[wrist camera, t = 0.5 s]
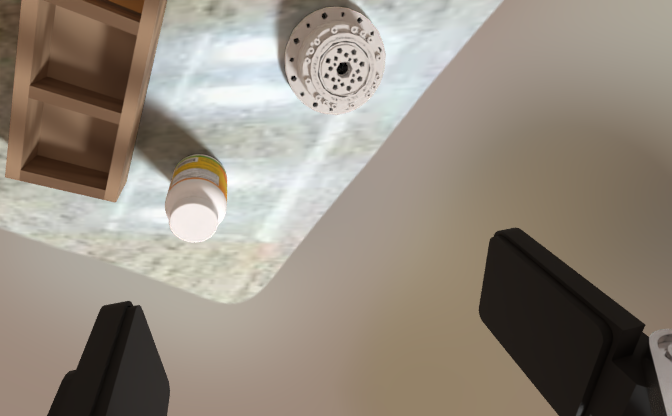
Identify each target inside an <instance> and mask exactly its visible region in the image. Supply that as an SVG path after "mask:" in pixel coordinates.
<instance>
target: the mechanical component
mask: <svg viewBox="0 0 672 416" xmlns="http://www.w3.org/2000/svg"><path fill="white" fill-rule="evenodd" d="M341 12H342V16H341ZM323 13H325V18H322V14H323ZM358 18H359V19H360V20H359V21H357V19H358ZM306 24H308V25H309V26H307V25H306ZM370 32H371V34H370ZM296 38H298V41H297V43H294V39H296ZM352 42H353V43H352ZM338 48H339V50H338V51H337V49H338ZM344 54H345V55H344ZM385 56H386V54H385V49H384V44H383V41H382V39H381V37H380V34H379V32H378V30H377V29H376V27H375V26H374V25H373V24H372V22H371V21H370V20H369V19H367V18H366V17H365V16H364V15H362V14H361V13H359V12H356V11H354V10H352V9H349V8H343V7H325V8H322V9H319V10H316V11H314V12H312V13H311V14H309V15H308V16H306V17H305V18H304V19H303V20H302V21H301V22H300V23H299V24H298V25H297V26H296V27H295V28H294V29H293V31H292V34H291V36H290V38H289V41H288V43H287V46H286V50H285V56H284V58H285V72H286V75H287V78H288V81H289V84H290V87H291V89H292V90H293V92H294V93H295V95H296V96H297V97H298V99H299V100H301V101H302V102H303V103H304V104H305V105H306V106H308V107H309V108H311V109H313V110H314V111H317V112H320V113H323V114H333V115H338V114H343V113H348V112H350V111H353V110H355V109H357V108H359V107H360V106H362V105H363V104H364V103H366V102H367V101H368V100H369V99H370V98H371V97H372V95H373V94H374V93H375V91H376V89H377V88H378V86H379V85H380V82H381V79H382V76H383V73H384V69H385ZM291 57H292V58H293V59H291V60H290V58H291ZM327 58H328V59H327ZM326 59H327V61H326ZM344 62H345V63H346V64H347V65H348V68H347V67H346V66H345V64H344ZM347 62H348V63H347ZM339 63H342V64H343V67H342V69H339V68H338V69H337V67H338V65H339ZM336 69H337V70H336ZM339 71H343V72H345V71H347V72H346V73H345V74H343V75H340V74H338V73H337V72H339ZM325 74H326V76H325ZM294 75H295V78H294V79H291V76H294ZM331 78H332V79H331ZM302 92H303V93H302ZM300 93H302V94H300ZM314 102H316V104H315V105H313V103H314Z"/></svg>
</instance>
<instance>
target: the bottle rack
mask: <svg viewBox="0 0 672 416" xmlns="http://www.w3.org/2000/svg"><path fill="white" fill-rule="evenodd" d="M166 4H167V0H22V1H21V11H20V22H19V33H18V44H17V54H16V65H15V76H14V87H13V98H12V108H11V119H10V130H9V141H8V151H7V162H6V173H5V177H6V178H11V179H15V180H20V181H24V182H28V183H33V184H37V185H41V186H46V187H50V188H55V189H59V190H63V191H68V192H72V193H76V194H81V195H85V196H90V197H94V198H98V199H103V200H107V201H111V202H116V201H117V199H118V197H119V195H120V193H121V191H122V189H123V188H124V186H125V184H126V181H127V177H128V173H129V168H130V164H131V159H132V155H133V150H134V146H135V141H136V137H137V133H138V128H139V124H140V119H141V115H142V110H143V106H144V101H145V97H146V93H147V88H148V84H149V79H150V75H151V70H152V66H153V61H154V57H155V53H156V48H157V44H158V39H159V35H160V30H161V26H162V21H163V17H164V13H165V8H166Z"/></svg>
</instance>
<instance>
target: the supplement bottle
mask: <svg viewBox="0 0 672 416" xmlns="http://www.w3.org/2000/svg"><path fill="white" fill-rule="evenodd" d="M226 209H227V175H226V171H225V169H224V167H223V166H222V164H221V163H220V162H219V161H217V160H216V159H214V158H213V157H210V156H208V155H203V154H195V155H190V156H187V157H185V158H184V159H182V160H181V161H180V162H179V163H178V164H177V166H176V167H175V169H174V172H173V176H172V179H171V183H170V186H169V190H168V193H167V197H166V201H165V210H166V214H167V216H168V218H169V226H170V229H171V231H172V232H173V233H174V235H175V236H177V237H178V238H180V239H181V240H184V241H187V242H201V241H204V240H206V239H208V238H210V237H211V236H212V235H213V234H214V233H215V231H216V229H217V226H218V225H219V224H220V223H221V221H222V220H223V218H224V216H225V214H226Z"/></svg>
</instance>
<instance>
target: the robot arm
mask: <svg viewBox="0 0 672 416" xmlns="http://www.w3.org/2000/svg"><path fill="white" fill-rule="evenodd" d="M479 314H480V317H481V319H482V321H483V323H484V324H485V325H486V326H487V328H488V329H489V330H490V331H491V332H492V334H493V335H494V336H495V337H496V339H497V340H498V341H499V342H500V344H501V345H502V346H503V347H504V348H505V350H506V351H507V352H508V353H509V354H510V356H511V357H512V358H513V360H514V361H515V362H516V363H517V364H518V366H519V367H520V368H521V369H522V371H523V372H524V373H525V374H526V376H527V377H528V378H529V379H530V380H531V382H532V383H533V384H534V385H535V387H536V388H537V389H538V390H539V392H540V393H541V394H542V395H543V397H544V398H545V399H546V400H547V402H548V403H549V404H550V405H551V406H552V408H553V409H554V410H555V411H556V413H557V414H558V415H559V416H672V329H661V330H658V331H655V332H653V333H652V334H651V335H650V337H648V336H647V335H646V334H644V333H643V332H642V331H643V329H644V327H645V324H644V323H642V322H641V321H640V320H639V319H637V318H636V317H635V316H633V315H632V314H631V313H629V312H628V311H627V310H625V309H624V308H623V307H622V306H620V305H619V304H618V303H616V302H615V301H614V300H612V299H611V298H610V297H609V296H607V295H606V294H605V293H603V292H602V291H601V290H599V289H598V288H597V287H595V286H594V285H593V284H592V283H590V282H589V281H588V280H586V279H585V278H584V277H582V276H581V275H580V274H578V273H577V272H576V271H575V270H573V269H572V268H571V267H569V266H568V265H567V264H565V263H564V262H563V261H561V260H560V259H559V258H558V257H556V256H555V255H553V254H552V253H551V252H550V251H548V250H547V249H546V248H545V247H543V246H542V245H541V244H539V243H538V242H537V241H535V240H534V239H533V238H531V237H530V236H529V235H528V234H526V233H525V232H524V231H522V230H521V229H519V228H511V229H506V230H501V231H497V232H496V233H495V235H494V237H492V238H491V239H490V242H489V248H488V255H487V260H486V267H485V274H484V280H483V286H482V292H481V298H480V305H479ZM169 396H170V388H169V381H168V378H167V375H166V373H165V370H164V367H163V364H162V362H161V359H160V356H159V354H158V351H157V348H156V345H155V343H154V340H153V337H152V334H151V332H150V329H149V326H148V324H147V321H146V318H145V315H144V313H143V310H142V308H141V306H140V305H137V306H133V304H132V303H131V302H130V301H125V302H120V303H115V304H110V305H104V306H103V307H102V308H101V309H100V312H99V314H98V316H97V319H96V322H95V324H94V326H93V329H92V331H91V334H90V336H89V339H88V342H87V344H86V346H85V349H84V351H83V354H82V357H81V359H80V361H79V364H78V367H77V369H76V370H73V371H69V372H68V373H67V374H66V375H65V377H64V379H63V380H62V382H61V385H60V387H59V389H58V391H57V394H56V396H55V398H54V401H53V403H52V406H51V408H50V410H49V413H48V415H47V416H167V411H168V403H169Z"/></svg>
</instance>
